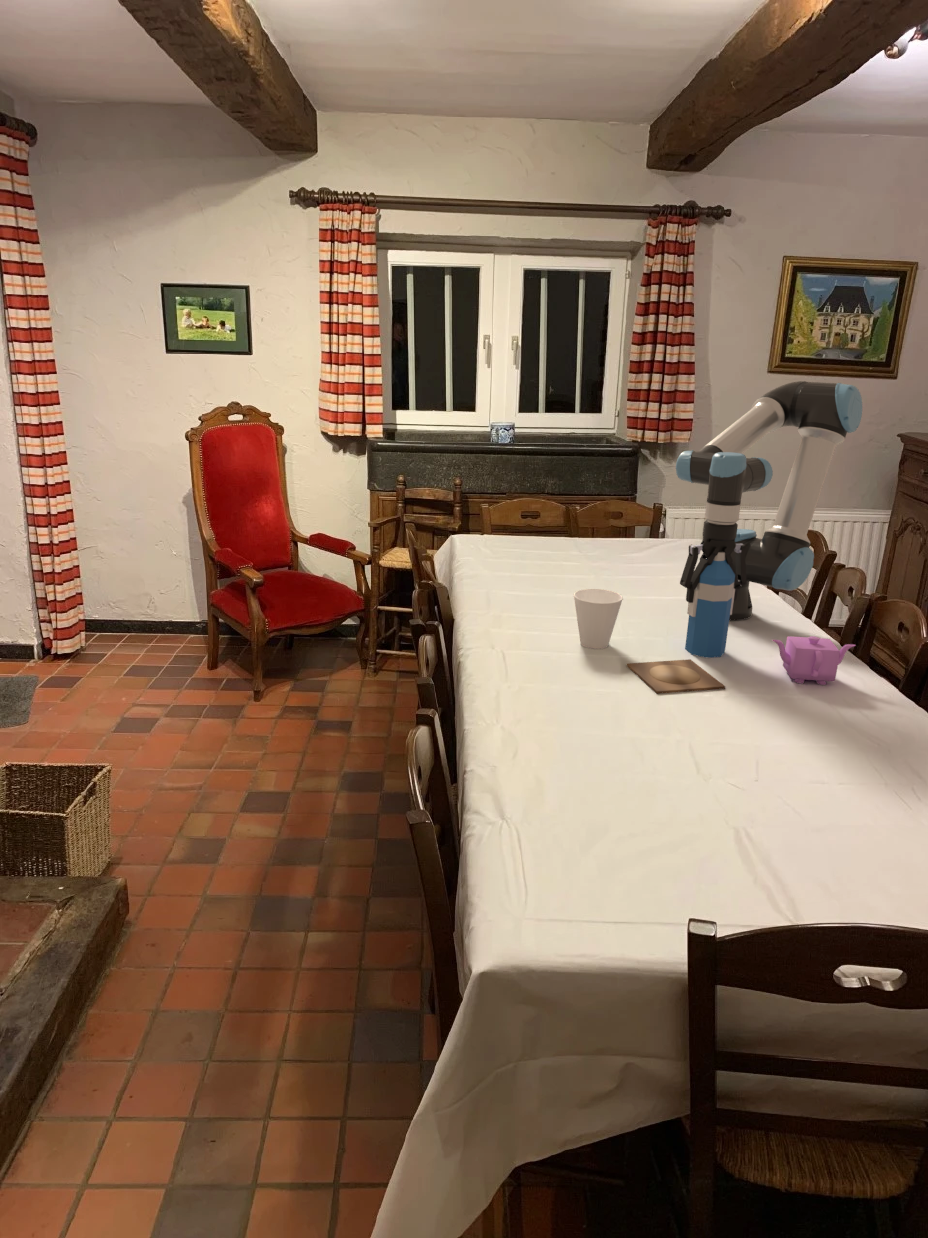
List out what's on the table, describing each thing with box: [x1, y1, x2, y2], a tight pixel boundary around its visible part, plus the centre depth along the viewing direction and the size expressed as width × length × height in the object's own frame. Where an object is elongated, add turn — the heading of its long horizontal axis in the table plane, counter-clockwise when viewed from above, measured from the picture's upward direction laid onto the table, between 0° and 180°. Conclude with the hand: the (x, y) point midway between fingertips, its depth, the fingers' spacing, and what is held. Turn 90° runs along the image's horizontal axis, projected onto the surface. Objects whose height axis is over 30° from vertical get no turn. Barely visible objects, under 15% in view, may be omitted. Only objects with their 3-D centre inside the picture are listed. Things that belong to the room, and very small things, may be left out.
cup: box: [573, 588, 624, 650], centre depth 204 cm, size 12×12×12 cm
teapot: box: [771, 635, 857, 686], centre depth 187 cm, size 18×13×10 cm
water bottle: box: [684, 552, 735, 659], centre depth 199 cm, size 9×9×25 cm
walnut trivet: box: [626, 658, 726, 695], centre depth 187 cm, size 16×16×1 cm
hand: (709, 614), depth 200 cm, fingers closed on water bottle, 9 cm apart
